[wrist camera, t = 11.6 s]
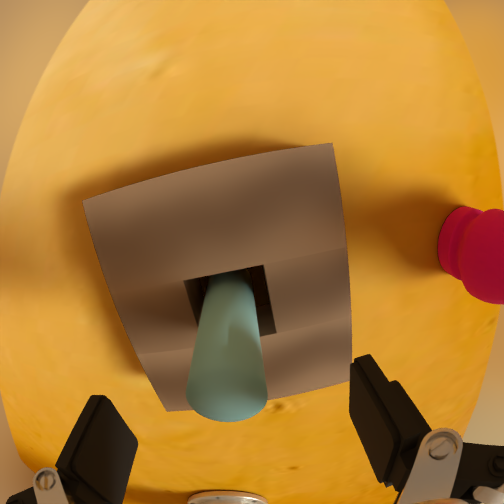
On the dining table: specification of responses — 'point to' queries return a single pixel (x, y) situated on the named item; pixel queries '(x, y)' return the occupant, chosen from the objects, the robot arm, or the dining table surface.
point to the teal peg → (228, 352)
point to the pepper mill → (475, 251)
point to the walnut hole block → (232, 264)
